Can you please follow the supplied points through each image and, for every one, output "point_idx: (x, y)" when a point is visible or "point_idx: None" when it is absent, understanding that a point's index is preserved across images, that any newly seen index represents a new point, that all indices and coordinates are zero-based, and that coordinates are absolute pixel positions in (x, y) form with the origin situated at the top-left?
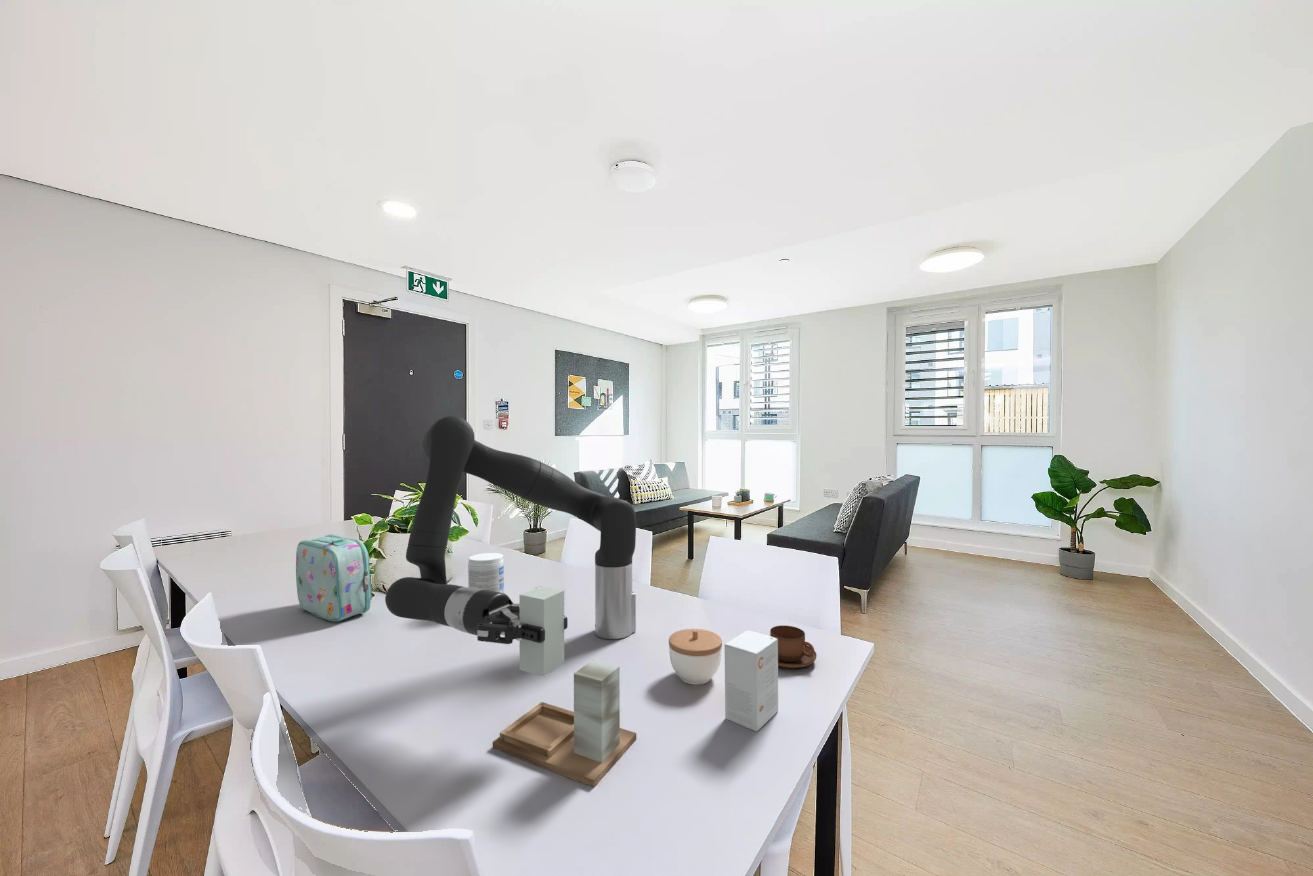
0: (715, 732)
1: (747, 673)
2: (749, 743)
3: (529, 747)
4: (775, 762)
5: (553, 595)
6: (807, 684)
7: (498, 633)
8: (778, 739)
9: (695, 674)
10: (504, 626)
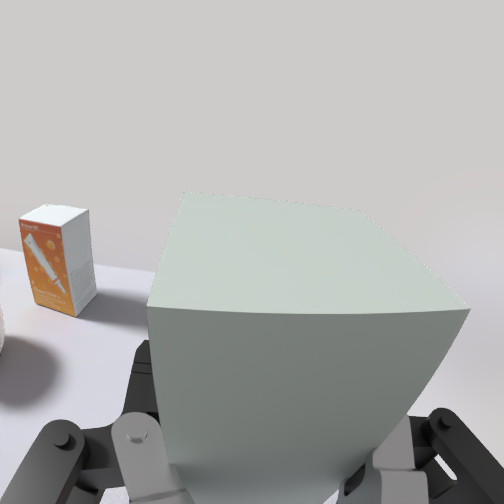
0: (105, 322)
1: (84, 240)
2: (117, 297)
3: None
4: (141, 281)
5: (285, 201)
6: (10, 268)
7: (451, 487)
8: (105, 281)
9: (4, 333)
10: (458, 438)
